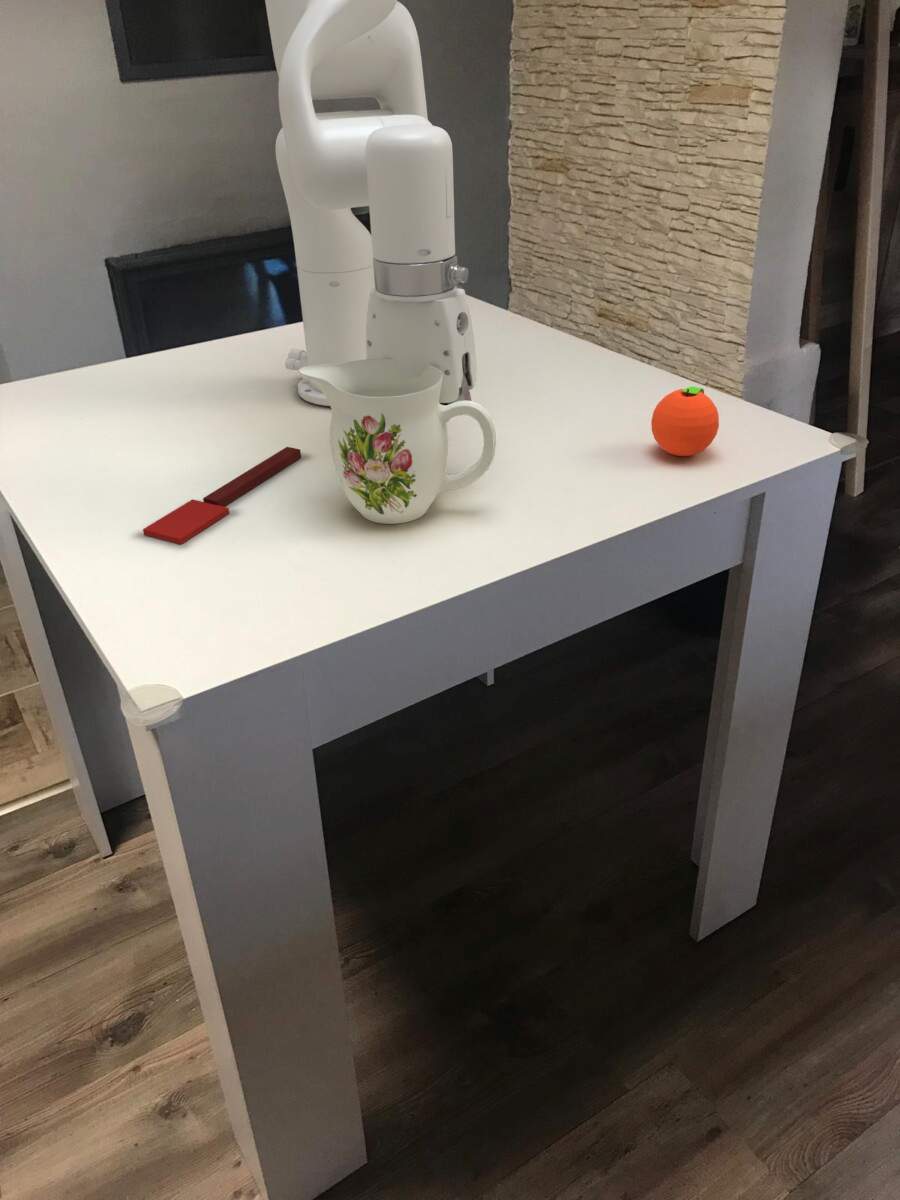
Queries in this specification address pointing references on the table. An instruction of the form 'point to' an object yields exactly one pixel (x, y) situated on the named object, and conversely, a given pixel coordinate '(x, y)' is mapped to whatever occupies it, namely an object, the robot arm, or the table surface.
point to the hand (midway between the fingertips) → (424, 460)
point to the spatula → (217, 501)
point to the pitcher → (394, 437)
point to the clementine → (685, 422)
